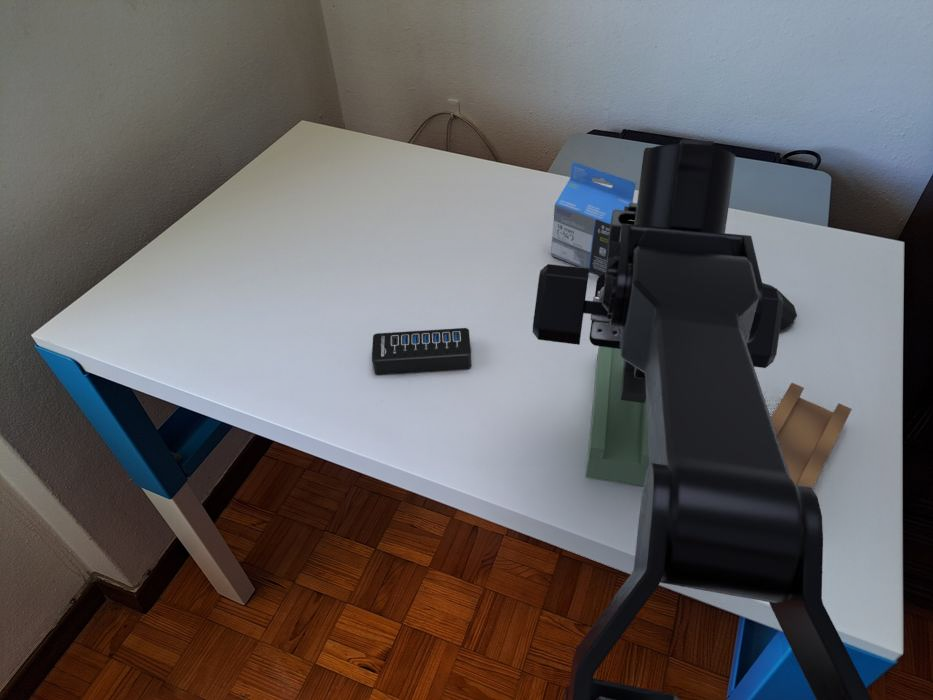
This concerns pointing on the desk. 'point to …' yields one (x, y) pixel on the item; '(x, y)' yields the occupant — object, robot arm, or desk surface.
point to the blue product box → (587, 216)
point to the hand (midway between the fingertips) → (643, 318)
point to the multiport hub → (421, 351)
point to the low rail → (806, 434)
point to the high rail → (616, 426)
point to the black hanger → (632, 385)
